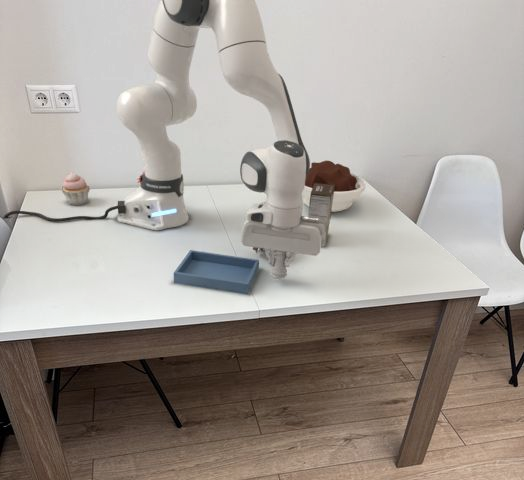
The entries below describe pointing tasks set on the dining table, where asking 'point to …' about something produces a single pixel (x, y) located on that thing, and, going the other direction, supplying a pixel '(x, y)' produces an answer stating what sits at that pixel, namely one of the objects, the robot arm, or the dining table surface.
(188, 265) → the tray
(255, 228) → the robot arm
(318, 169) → the bowl of brown lumps
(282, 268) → the rook chess piece
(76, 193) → the cupcake
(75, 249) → the dining table surface
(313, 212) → the coffee box
